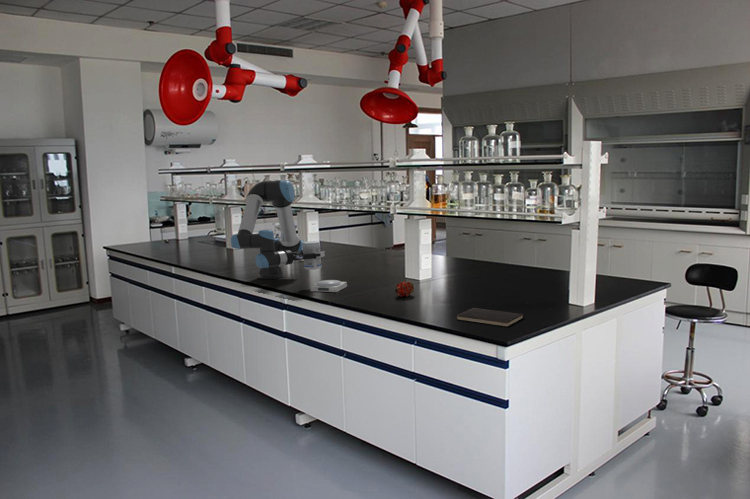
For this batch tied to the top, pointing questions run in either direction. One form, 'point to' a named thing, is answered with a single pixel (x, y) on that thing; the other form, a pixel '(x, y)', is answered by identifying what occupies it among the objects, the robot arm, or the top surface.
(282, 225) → the robot arm
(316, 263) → the supplement tub
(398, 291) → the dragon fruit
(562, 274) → the top surface
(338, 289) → the scale
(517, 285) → the top surface
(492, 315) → the hardcover book
